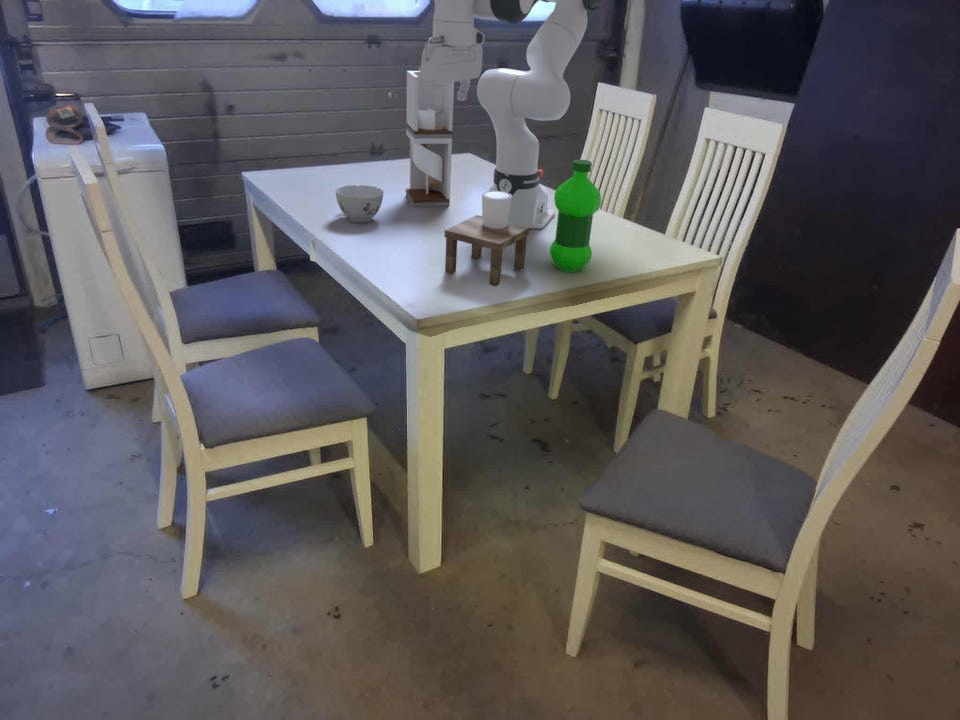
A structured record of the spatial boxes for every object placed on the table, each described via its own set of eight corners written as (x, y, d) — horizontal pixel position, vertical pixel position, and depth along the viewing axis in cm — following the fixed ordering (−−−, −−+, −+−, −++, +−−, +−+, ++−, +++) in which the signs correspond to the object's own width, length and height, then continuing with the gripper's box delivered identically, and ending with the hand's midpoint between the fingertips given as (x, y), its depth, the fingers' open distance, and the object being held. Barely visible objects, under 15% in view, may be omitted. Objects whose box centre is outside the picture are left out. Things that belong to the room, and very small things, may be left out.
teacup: (392, 222, 190) (392, 193, 186) (350, 229, 183) (349, 199, 179) (365, 207, 200) (364, 179, 197) (324, 213, 194) (323, 184, 190)
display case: (406, 195, 213) (406, 70, 196) (440, 194, 216) (444, 71, 199) (413, 206, 204) (415, 76, 187) (449, 205, 206) (454, 77, 189)
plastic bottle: (539, 268, 167) (550, 161, 155) (560, 256, 175) (572, 154, 163) (577, 279, 163) (592, 170, 150) (597, 266, 170) (612, 161, 158)
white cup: (516, 225, 163) (518, 195, 159) (496, 231, 158) (499, 200, 155) (493, 217, 167) (495, 188, 163) (473, 223, 162) (475, 193, 158)
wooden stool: (474, 255, 173) (476, 215, 168) (525, 268, 167) (529, 227, 162) (443, 272, 162) (444, 230, 157) (496, 287, 156) (499, 244, 151)
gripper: (438, 39, 144) (437, 110, 151) (488, 35, 160) (484, 99, 167) (413, 36, 147) (412, 106, 154) (464, 32, 163) (462, 95, 170)
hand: (450, 102), depth 160 cm, fingers open, 8 cm apart
